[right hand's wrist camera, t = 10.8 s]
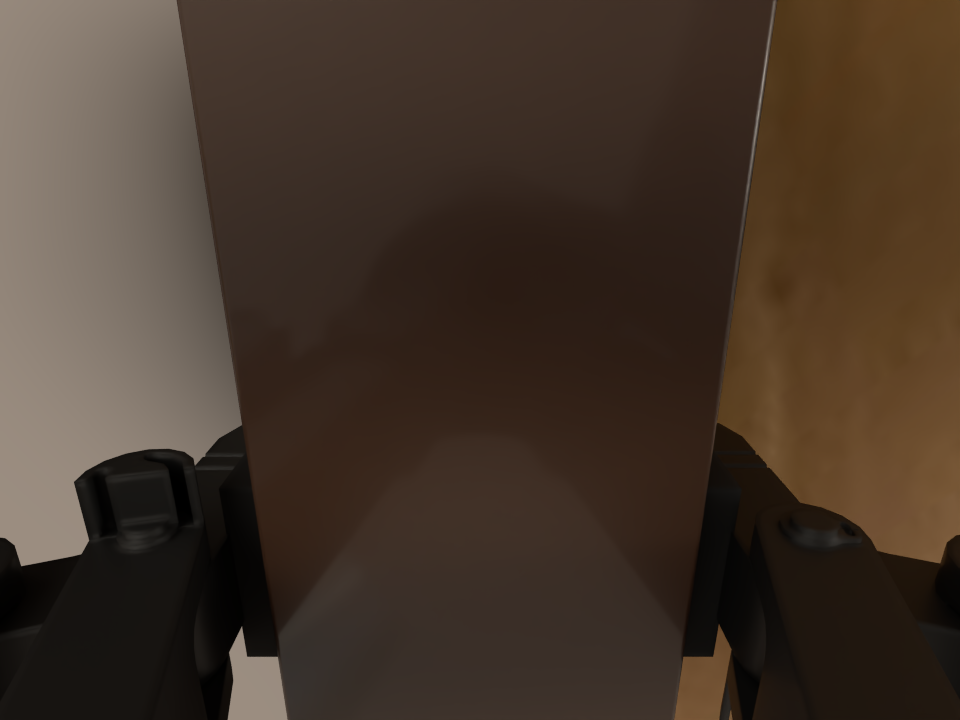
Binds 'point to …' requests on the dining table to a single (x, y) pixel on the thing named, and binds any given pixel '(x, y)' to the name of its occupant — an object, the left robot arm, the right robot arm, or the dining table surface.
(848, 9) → the dining table surface
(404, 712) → the walnut beam
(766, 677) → the right robot arm
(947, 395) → the dining table surface
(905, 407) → the dining table surface
